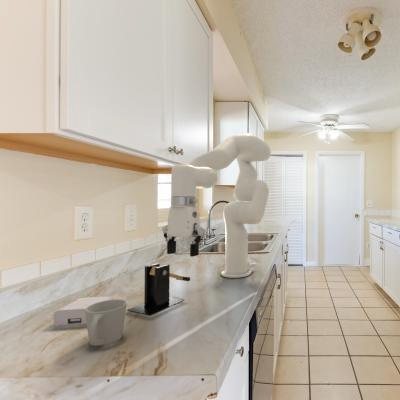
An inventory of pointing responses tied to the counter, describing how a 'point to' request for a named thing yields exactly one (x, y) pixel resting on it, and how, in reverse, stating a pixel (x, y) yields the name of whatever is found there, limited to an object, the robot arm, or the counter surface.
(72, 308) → the charger
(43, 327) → the counter surface
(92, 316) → the cup
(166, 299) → the bracket
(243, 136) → the robot arm
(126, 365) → the counter surface
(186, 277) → the tap lever
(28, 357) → the counter surface
